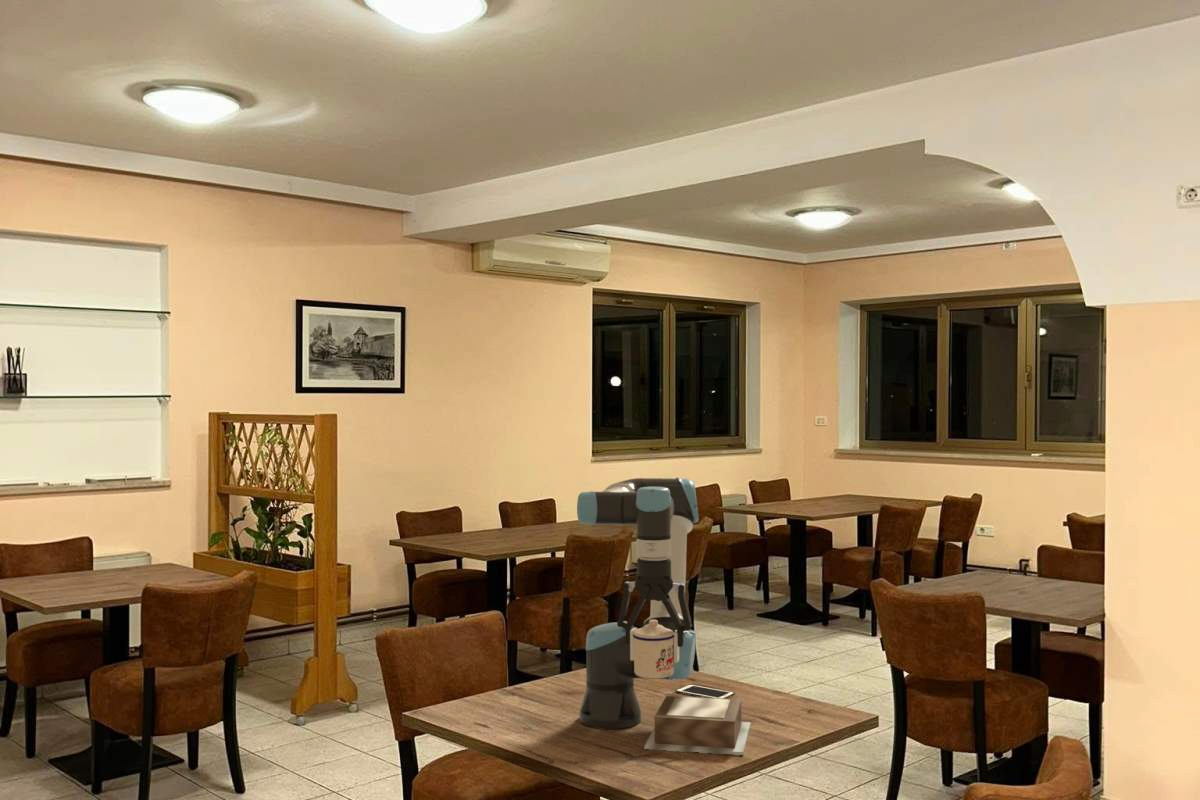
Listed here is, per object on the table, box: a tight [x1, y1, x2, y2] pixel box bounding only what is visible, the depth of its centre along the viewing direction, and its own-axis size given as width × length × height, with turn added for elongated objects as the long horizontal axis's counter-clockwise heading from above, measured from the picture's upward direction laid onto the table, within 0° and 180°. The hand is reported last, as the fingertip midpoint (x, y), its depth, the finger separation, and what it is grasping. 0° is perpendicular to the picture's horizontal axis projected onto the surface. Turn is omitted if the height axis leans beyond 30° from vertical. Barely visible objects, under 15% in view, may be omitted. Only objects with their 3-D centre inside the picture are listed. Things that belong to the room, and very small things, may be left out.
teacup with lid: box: [633, 620, 674, 678], centre depth 231 cm, size 12×9×12 cm
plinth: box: [643, 694, 752, 756], centre depth 244 cm, size 22×22×7 cm
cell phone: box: [675, 684, 736, 699], centre depth 280 cm, size 8×15×1 cm, turn 53°
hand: (654, 659), depth 231 cm, fingers closed on teacup with lid, 9 cm apart
